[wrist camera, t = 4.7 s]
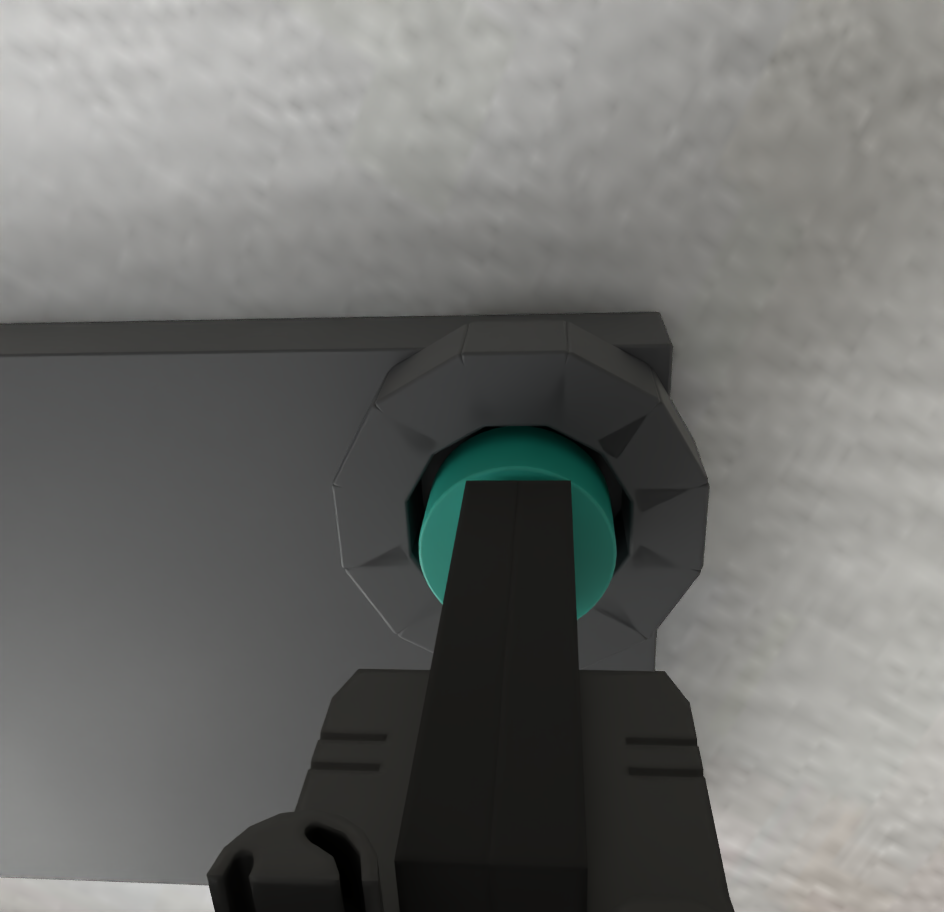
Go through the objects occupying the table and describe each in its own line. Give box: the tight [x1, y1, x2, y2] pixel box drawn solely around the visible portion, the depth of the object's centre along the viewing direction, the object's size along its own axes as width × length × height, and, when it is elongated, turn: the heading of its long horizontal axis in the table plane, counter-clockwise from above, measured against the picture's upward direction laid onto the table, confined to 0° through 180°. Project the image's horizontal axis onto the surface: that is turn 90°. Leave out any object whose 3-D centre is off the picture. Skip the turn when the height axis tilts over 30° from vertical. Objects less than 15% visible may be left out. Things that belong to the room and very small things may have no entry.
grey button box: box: [0, 312, 709, 885], centre depth 18 cm, size 16×13×4 cm
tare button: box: [419, 426, 617, 620], centre depth 14 cm, size 3×3×2 cm
